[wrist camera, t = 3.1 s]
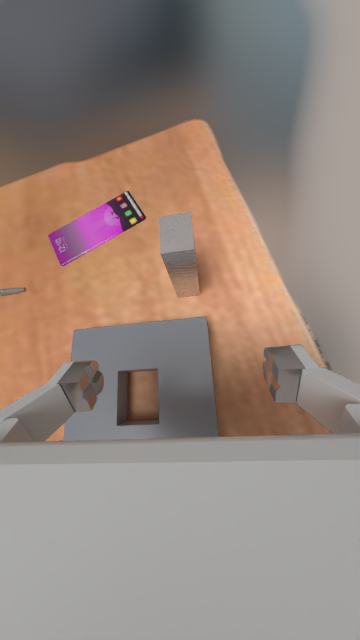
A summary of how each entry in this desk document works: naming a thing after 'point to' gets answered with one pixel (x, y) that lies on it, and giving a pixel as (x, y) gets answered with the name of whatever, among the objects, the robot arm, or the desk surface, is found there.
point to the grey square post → (179, 253)
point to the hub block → (148, 355)
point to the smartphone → (95, 228)
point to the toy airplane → (11, 291)
